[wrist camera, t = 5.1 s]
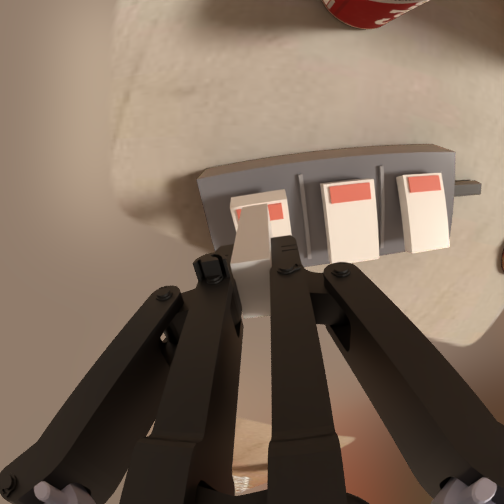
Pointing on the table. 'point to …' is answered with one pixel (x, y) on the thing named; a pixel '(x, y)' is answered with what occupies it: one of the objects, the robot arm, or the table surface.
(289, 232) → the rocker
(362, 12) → the soda can
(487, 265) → the table surface
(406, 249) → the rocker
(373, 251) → the rocker mid
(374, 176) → the strip
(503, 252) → the pastry
